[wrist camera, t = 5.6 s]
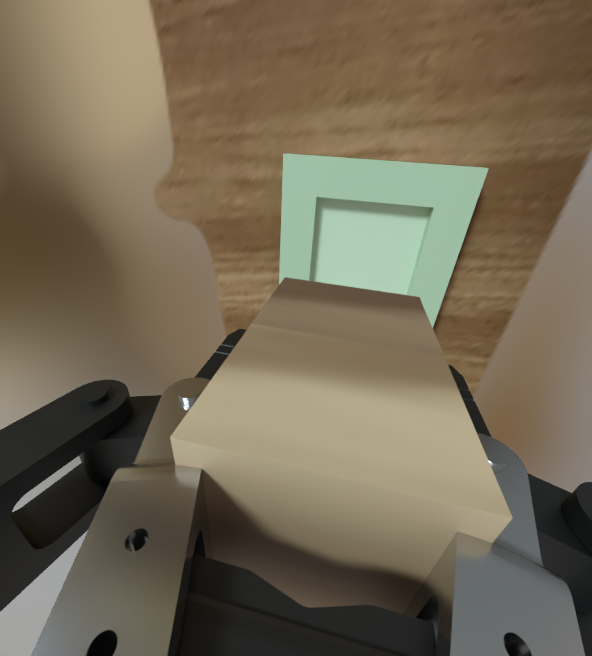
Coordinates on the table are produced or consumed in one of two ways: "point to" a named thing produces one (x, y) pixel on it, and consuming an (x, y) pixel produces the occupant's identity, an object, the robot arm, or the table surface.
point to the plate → (376, 223)
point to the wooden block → (339, 449)
